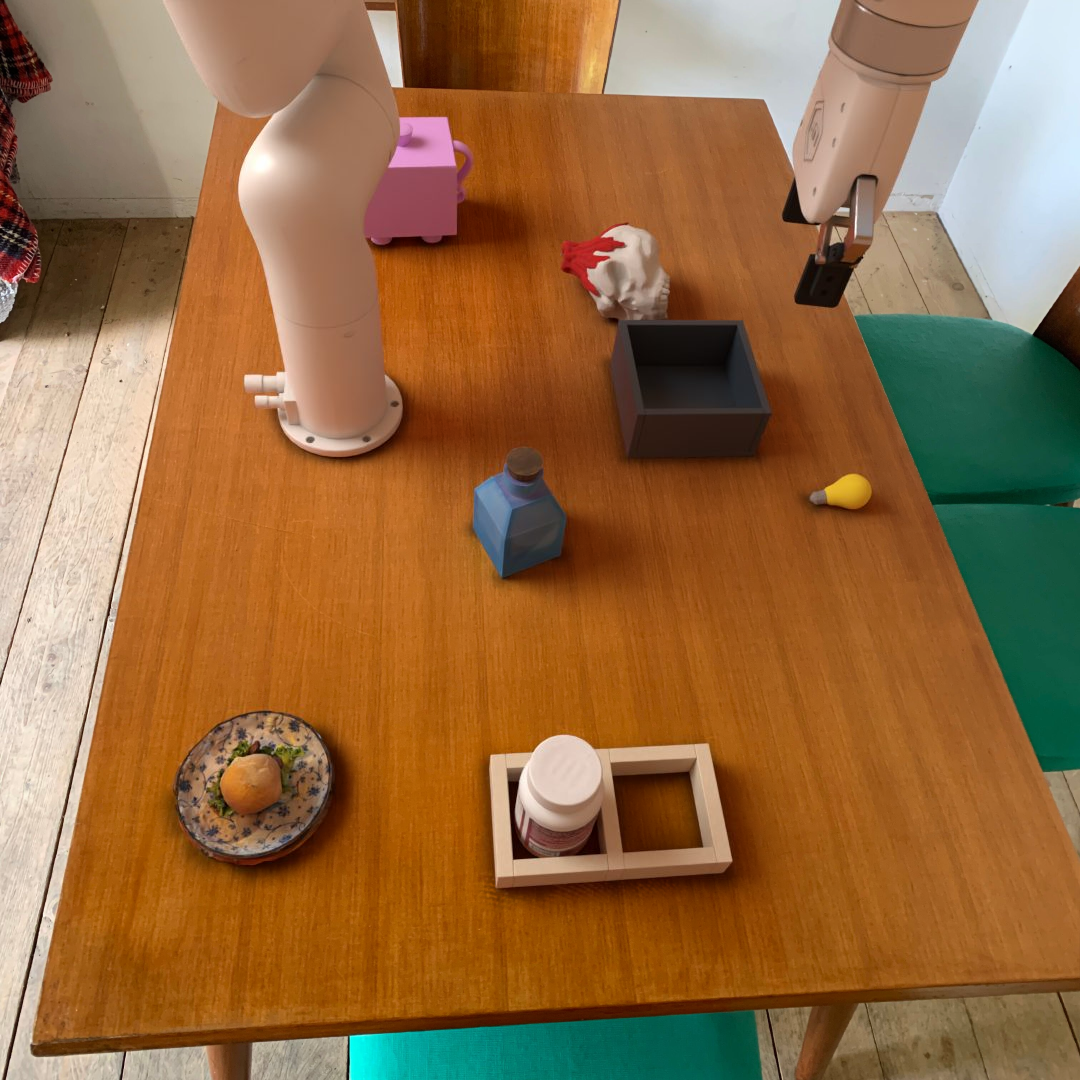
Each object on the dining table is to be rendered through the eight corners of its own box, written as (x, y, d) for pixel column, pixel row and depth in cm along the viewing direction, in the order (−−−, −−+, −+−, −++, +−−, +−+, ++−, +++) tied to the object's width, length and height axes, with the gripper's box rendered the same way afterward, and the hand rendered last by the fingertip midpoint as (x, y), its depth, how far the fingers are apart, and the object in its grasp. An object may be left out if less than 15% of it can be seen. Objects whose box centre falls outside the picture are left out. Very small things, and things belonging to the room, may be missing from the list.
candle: (661, 345, 104) (539, 316, 108) (690, 286, 110) (573, 261, 114) (667, 278, 97) (536, 251, 101) (697, 220, 103) (573, 196, 107)
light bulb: (871, 509, 93) (878, 498, 90) (812, 520, 94) (816, 509, 91) (864, 478, 94) (869, 466, 91) (804, 489, 95) (808, 477, 92)
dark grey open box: (627, 458, 95) (637, 414, 89) (610, 365, 102) (618, 319, 97) (754, 456, 96) (772, 413, 91) (728, 364, 104) (743, 319, 99)
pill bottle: (606, 835, 72) (629, 783, 63) (541, 878, 70) (554, 830, 60) (562, 770, 75) (578, 712, 65) (498, 810, 72) (505, 754, 63)
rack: (496, 888, 69) (497, 877, 66) (489, 768, 74) (490, 754, 72) (723, 873, 71) (732, 861, 68) (700, 757, 76) (708, 743, 74)
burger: (336, 713, 76) (326, 672, 70) (335, 858, 69) (323, 826, 63) (185, 725, 74) (161, 684, 68) (169, 874, 68) (141, 843, 62)
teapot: (467, 195, 118) (469, 101, 108) (477, 244, 113) (479, 150, 103) (309, 200, 115) (295, 103, 105) (310, 251, 110) (296, 154, 99)
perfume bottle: (501, 578, 85) (508, 499, 75) (473, 528, 88) (475, 446, 78) (560, 555, 87) (573, 475, 77) (530, 508, 90) (540, 425, 80)
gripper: (819, -42, 61) (750, 188, 75) (855, 97, 51) (767, 333, 64) (931, -29, 61) (841, 198, 75) (989, 113, 51) (872, 344, 65)
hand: (807, 261), depth 70 cm, fingers open, 9 cm apart
